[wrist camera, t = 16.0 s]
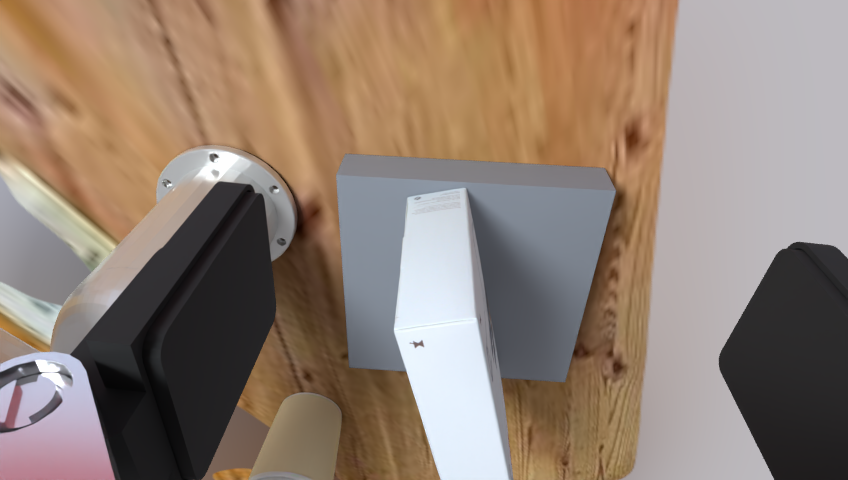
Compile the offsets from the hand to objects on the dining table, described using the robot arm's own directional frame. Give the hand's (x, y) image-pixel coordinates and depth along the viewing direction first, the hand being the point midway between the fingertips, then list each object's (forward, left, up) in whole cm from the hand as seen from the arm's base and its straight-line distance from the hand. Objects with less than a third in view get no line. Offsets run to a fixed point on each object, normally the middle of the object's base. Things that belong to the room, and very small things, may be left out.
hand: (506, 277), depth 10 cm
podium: (-24, -1, -33) cm, 41 cm away
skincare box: (-24, -1, -30) cm, 38 cm away
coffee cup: (-48, +16, -34) cm, 61 cm away
